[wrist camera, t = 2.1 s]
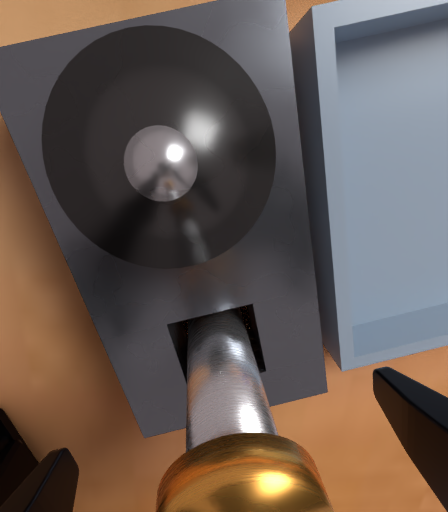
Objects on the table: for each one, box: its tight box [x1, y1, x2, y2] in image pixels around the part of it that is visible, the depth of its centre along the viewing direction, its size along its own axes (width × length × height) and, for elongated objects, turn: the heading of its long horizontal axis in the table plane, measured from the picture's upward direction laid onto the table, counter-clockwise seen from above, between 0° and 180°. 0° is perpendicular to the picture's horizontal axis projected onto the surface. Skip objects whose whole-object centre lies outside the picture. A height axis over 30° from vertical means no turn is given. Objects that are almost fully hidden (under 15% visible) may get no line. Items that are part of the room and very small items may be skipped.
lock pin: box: [156, 307, 334, 512], centre depth 10 cm, size 4×4×9 cm
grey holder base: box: [0, 0, 328, 438], centre depth 10 cm, size 8×14×5 cm, turn 12°
